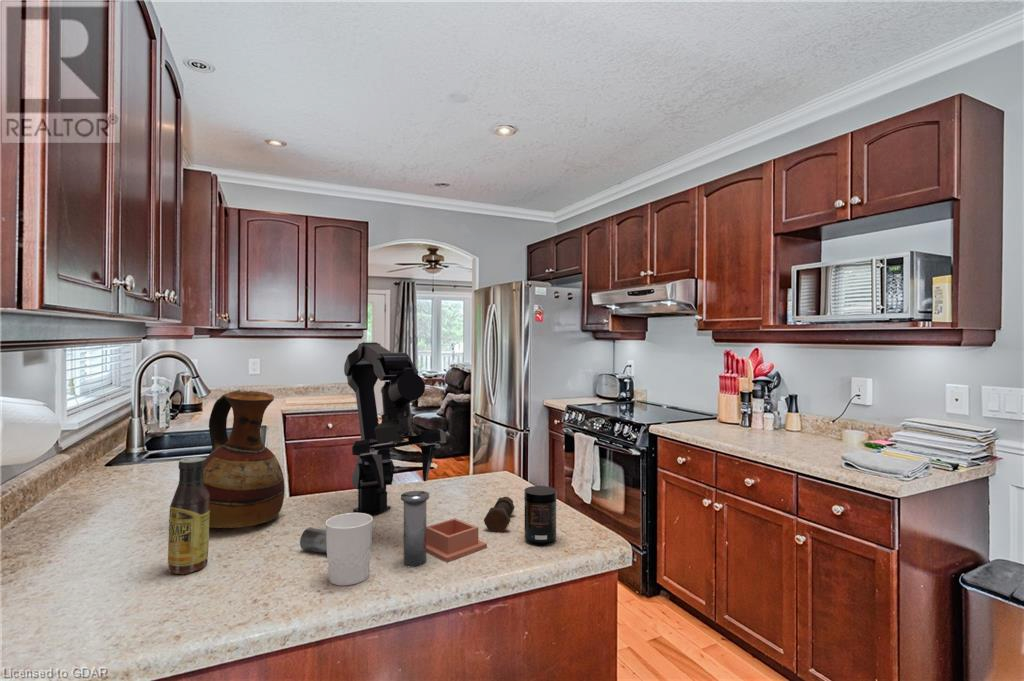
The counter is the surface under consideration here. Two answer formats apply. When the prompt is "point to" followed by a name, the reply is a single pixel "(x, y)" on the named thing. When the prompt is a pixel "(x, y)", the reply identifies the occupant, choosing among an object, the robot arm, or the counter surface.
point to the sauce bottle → (189, 519)
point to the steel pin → (414, 528)
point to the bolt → (499, 515)
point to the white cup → (348, 547)
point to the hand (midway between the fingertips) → (403, 484)
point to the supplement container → (540, 515)
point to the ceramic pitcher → (241, 464)
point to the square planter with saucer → (452, 539)
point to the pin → (314, 540)
